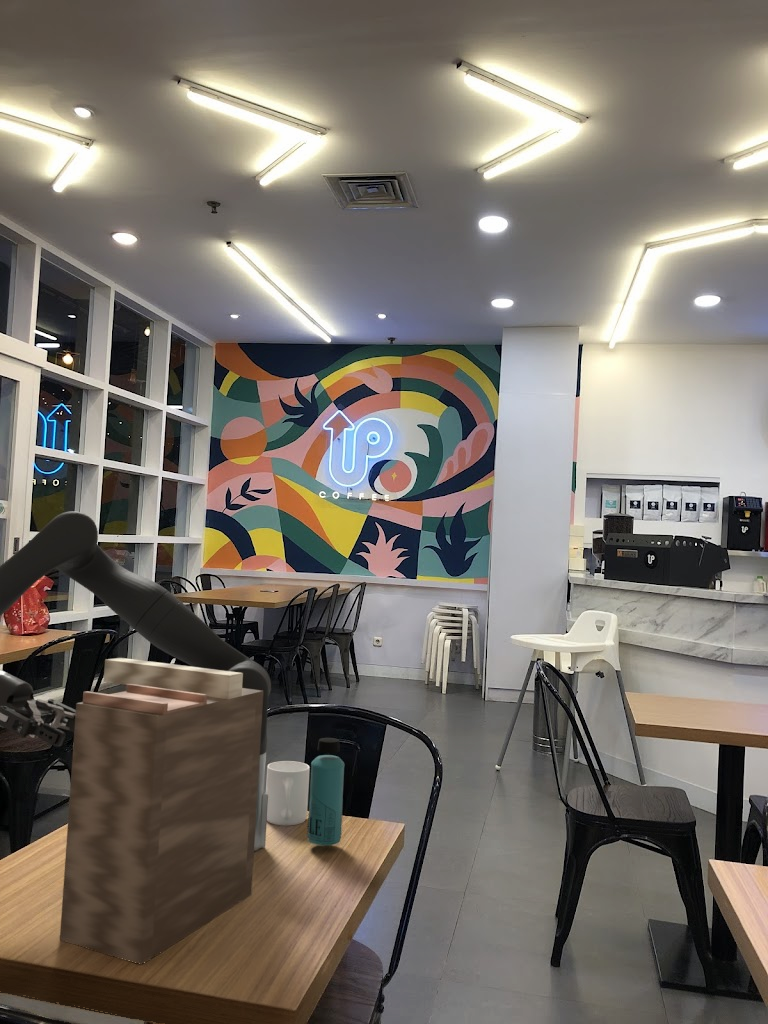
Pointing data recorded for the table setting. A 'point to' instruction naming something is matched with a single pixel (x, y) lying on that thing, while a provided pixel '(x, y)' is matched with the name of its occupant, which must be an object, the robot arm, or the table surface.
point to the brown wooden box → (158, 816)
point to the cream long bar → (174, 677)
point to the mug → (287, 792)
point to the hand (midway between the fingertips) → (77, 736)
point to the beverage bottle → (326, 795)
